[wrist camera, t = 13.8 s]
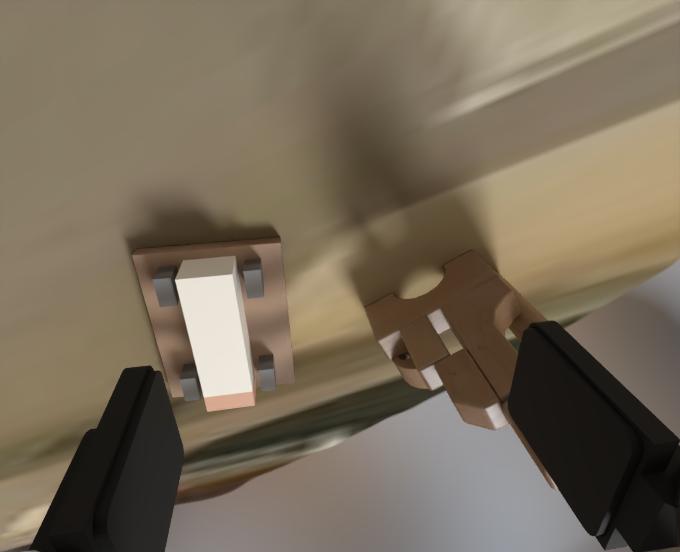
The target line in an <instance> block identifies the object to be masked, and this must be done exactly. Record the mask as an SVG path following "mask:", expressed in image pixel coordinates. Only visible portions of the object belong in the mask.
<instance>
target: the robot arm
mask: <svg viewBox="0 0 680 552" xmlns="http://www.w3.org/2000/svg"><path fill="white" fill-rule="evenodd" d="M508 411H509V414H510V416H511V418H512V419H513V421H514V422H515V424H516V425H517V427H518V428H519V430H520V431H521V433H522V434H523V436H524V437H525V439H526V440H527V442H528V444H529V445H530V447H531V448H532V450H533V451H534V453H535V454H536V456H537V457H538V459H539V460H540V462H541V463H542V465H543V466H544V468H545V469H546V471H547V473H548V474H549V476H550V477H551V479H552V480H553V482H554V483H555V485H556V486H557V488H558V489H559V491H560V492H561V494H562V495H563V497H564V498H565V500H566V501H567V503H568V505H569V506H570V508H571V509H572V511H573V512H574V514H575V515H576V517H577V518H578V520H579V521H580V523H581V524H582V526H583V527H584V529H585V530H586V531H587V533H589V534H590V535H591V536H595V537H596V538H597V539H598V541H599V543H600V544H601V546H602V547H603V549H604V550H609V549H615V548H621V547H626V546H627V545H628V546H629V547H630V548H631V550H632V551H633V552H680V446H679V445H678V444H679V442H680V439H679V438H678V437H677V436H676V435H675V434H674V433H673V432H672V431H670V430H669V429H668V428H667V427H666V426H665V425H664V424H663V423H662V422H661V421H660V420H659V419H658V418H657V417H656V416H655V415H654V414H653V413H652V412H651V411H649V410H648V409H647V408H646V407H645V406H644V405H643V404H642V403H641V402H640V401H639V400H638V399H637V398H636V397H635V396H634V395H633V394H632V393H631V392H629V390H627V389H626V388H625V387H624V386H623V385H622V384H621V383H620V382H619V381H618V380H617V379H616V378H615V377H614V376H613V375H612V374H611V373H610V372H609V371H608V370H606V369H605V368H604V367H603V366H602V365H601V364H600V363H599V362H598V361H597V360H596V359H595V358H594V357H593V356H592V355H591V354H590V353H589V352H587V350H586V349H584V348H583V347H582V346H581V345H580V344H579V343H578V342H577V341H576V340H575V339H574V338H573V337H572V336H571V335H570V334H569V333H568V332H567V331H566V330H565V329H563V328H562V327H561V326H560V325H559V324H558V323H557V322H555V321H543V322H534V323H531V324H530V325H529V327H528V329H525V330H524V331H523V334H522V339H521V343H520V348H519V353H518V357H517V362H516V366H515V371H514V376H513V380H512V385H511V389H510V394H509V399H508ZM183 460H184V450H183V444H182V441H181V438H180V434H179V431H178V427H177V424H176V420H175V417H174V414H173V410H172V407H171V403H170V400H169V397H168V393H167V390H166V386H165V383H164V379H163V376H162V373H161V372H160V371H154V370H153V368H152V367H151V366H141V367H132V368H126V369H124V370H123V372H122V374H121V376H120V378H119V380H118V383H117V385H116V387H115V389H114V391H113V394H112V396H111V398H110V400H109V402H108V405H107V407H106V409H105V411H104V413H103V416H102V418H101V420H100V422H99V424H98V427H97V428H96V429H90V430H89V431H87V432H86V434H85V435H84V437H83V438H82V440H81V442H80V445H79V447H78V449H77V451H76V453H75V455H74V457H73V459H72V461H71V463H70V465H69V468H68V470H67V472H66V474H65V476H64V478H63V480H62V482H61V484H60V486H59V488H58V491H57V493H56V495H55V497H54V499H53V501H52V503H51V505H50V507H49V509H48V511H47V514H46V516H45V518H44V520H43V522H42V524H41V526H40V528H39V530H38V532H37V534H36V537H35V539H34V541H33V543H32V545H31V547H30V549H29V551H21V552H165V547H166V542H167V537H168V533H169V528H170V522H171V518H172V513H173V508H174V504H175V499H176V494H177V489H178V485H179V480H180V475H181V470H182V465H183Z"/></svg>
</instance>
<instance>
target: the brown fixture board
mask: <svg viewBox="0 0 680 552" xmlns="http://www.w3.org/2000/svg"><path fill="white" fill-rule="evenodd" d="M226 256H236V262H237V268H238V274H239V280H240V286H241V292H242V299H243V305H244V311H245V317H246V323H247V329H248V335H249V341H250V347H251V353H252V359H253V365H254V371H255V378H256V387H261V390H262V392H263V391H271V390H276V385H279V384H287V383H295V375H294V365H293V355H292V345H291V336H290V326H289V316H288V307H287V297H286V287H285V278H284V268H283V258H282V248H281V239H280V237H274V238H262V239H250V240H238V241H226V242H214V243H202V244H190V245H178V246H166V247H154V248H142V249H136V250H135V252H134V253H133V255H132V257H133V261H134V264H135V268H136V271H137V275H138V278H139V282H140V285H141V289H142V292H143V296H144V299H145V303H146V306H147V310H148V313H149V316H150V320H151V323H152V327H153V330H154V334H155V337H156V341H157V344H158V348H159V351H160V355H161V358H162V362H163V365H164V369H165V372H166V376H167V379H168V383H169V386H170V390H171V393H172V397H181V396H184V398H185V401H190V400H198V399H201V394H203V392H202V388H201V384H200V379H199V375H198V371H197V367H196V363H195V359H194V355H193V351H192V347H191V343H190V339H189V335H188V331H187V327H186V323H185V318H184V314H183V310H182V306H181V302H180V298H179V294H178V290H177V286H176V282H175V279H176V276H177V274H178V271H179V269H180V266H181V264H182V262H183V260H193V259H204V258H215V257H226Z"/></svg>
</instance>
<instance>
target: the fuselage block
mask: <svg viewBox="0 0 680 552" xmlns="http://www.w3.org/2000/svg"><path fill="white" fill-rule="evenodd" d="M175 282H176V286H177V290H178V294H179V298H180V302H181V306H182V310H183V314H184V318H185V323H186V327H187V331H188V335H189V339H190V343H191V347H192V351H193V355H194V359H195V363H196V367H197V371H198V375H199V379H200V384H201V388H202V392H203V396H204V400H205V404H206V408H207V412H208V411H216V410H224V409H231V408H239V407H247V406H255V392H256V378H255V371H254V365H253V359H252V353H251V347H250V341H249V335H248V329H247V323H246V317H245V311H244V305H243V299H242V292H241V286H240V280H239V274H238V268H237V262H236V256H226V257H215V258H204V259H193V260H183V262H182V264H181V266H180V269H179V271H178V274H177V276H176V279H175Z"/></svg>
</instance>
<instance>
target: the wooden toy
mask: <svg viewBox="0 0 680 552" xmlns="http://www.w3.org/2000/svg"><path fill="white" fill-rule="evenodd" d="M444 269H445V275H444V278H443V279H442V281H441V282H440V283H439V284H438V286H437V287H435V288H434V289H432V290H431V291H429V292H428V293H426V294H424V295H422V296H419V297H417V298H412V299H400V298H396V297H395V296H394V295H393V294H389V295H388V296H386V297H384V298H382V299H380V300H379V301H377V302H375V303H373V304H371V305H369V306H368V307H366V308H365V311H366V314H367V317H368V319H369V322H370V325H371V327H372V330H373V333H374V336H375V338H376V341H377V343H378V344H379V346H380V347H381V349H382V350H383V352H384V353H385V355H386V356H387V358H388V359H389V360H391V359H392V360H393V362H394V364H395V365H396V367H397V368H398V370H399V372H400V373H401V375H402V376H403V378H404V379H405V381H406V382H408V383H409V384H410V385H412V386H414V387H417V388H424V389H430V390H431V391H432V390H435V389H437V388H439V387H441V386H443V385H444V387H445V389H446V391H447V393H448V394H449V396H450V398H451V400H452V402H453V404H454V405H455V407H456V409H457V411H458V412H459V414H460V416H461V417H462V419H463V421H464V422H466V423H468V424H472V425H475V426H479V427H483V428H487V429H491V430H498V429H500V428H502V427H504V426H506V425H508V424H509V423H510V425H511V426H512V428H513V429H514V431H515V433H516V434H517V436H518V437H519V439H520V440H521V442H522V443H523V445H524V447H525V448H526V450H527V451H528V453H529V454H530V456H531V457H532V459H533V460H534V462H535V463H536V465H537V467H538V468H539V470H540V471H541V473H542V474H543V476H544V478H545V479H546V481H547V482H548V484H549V485H550V487H551V488H553V489H555V490H556V489H558V488H557V486H556V485H555V483H554V482H553V480H552V479H551V477H550V476H549V474H548V473H547V471H546V469H545V468H544V466H543V465H542V463H541V462H540V460H539V459H538V457H537V456H536V454H535V453H534V451H533V450H532V448H531V447H530V445H529V444H528V442H527V440H526V439H525V437H524V436H523V434H522V433H521V431H520V430H519V428H518V427H517V425H516V424H515V422H514V421H513V419H512V418H511V416H510V414H509V411H508V399H509V394H510V389H511V385H512V380H513V376H514V371H515V366H516V362H517V357H518V352H517V351H516V350H515V349H514V347H513V346H512V345H511V344H510V343H509V341H508V340H507V339H506V338H505V331H506V330H507V328H509V329H510V330H511V331H512V332H513V334H514V335H515V336H516V337H517V338H518V339H519V341H520V342H521V339H522V334H523V331H524V330H525V329H528V327H529V325H530V324H531V323H534V322H543V321H548V320H547V319H546V318H545V317H544V316H543V315H542V314H541V313H540V312H539V311H537V310H536V309H535V308H534V307H533V306H532V305H531V304H530V303H529V302H528V301H527V300H526V299H525V298H524V297H523V296H522V295H521V294H520V293H519V292H518V291H517V290H516V289H515V288H514V287H513V286H512V285H511V284H510V283H509V282H508V281H506V280H505V279H504V278H503V277H502V276H501V275H500V274H499V273H498V272H495V271H494V270H493V269H492V268H491V267H490V266H489V265H488V264H486V263H485V262H484V261H483V260H482V259H481V258H480V257H479V256H478V255H477V254H476V253H475V252H474V251H473V250H470V251H468V252H467V253H465V254H463V255H461V256H459V257H457V258H456V259H454V260H452V261H450V262H448V263H446V264H445V265H444ZM450 328H451V330H452V331H453V333H454V335H455V336H456V338H457V339H458V341H459V342H460V344H461V345H462V347H463V348H464V349H462V350H460V351H458V352H456V353H454V354H452V355H450V353H449V352H448V350H447V348H446V347H445V345H444V343H443V342H442V340H441V338H440V337H439V334H441V333H442V332H444V331H446V330H448V329H450Z"/></svg>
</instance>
